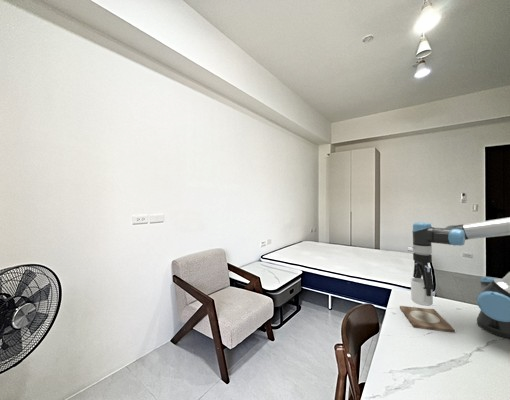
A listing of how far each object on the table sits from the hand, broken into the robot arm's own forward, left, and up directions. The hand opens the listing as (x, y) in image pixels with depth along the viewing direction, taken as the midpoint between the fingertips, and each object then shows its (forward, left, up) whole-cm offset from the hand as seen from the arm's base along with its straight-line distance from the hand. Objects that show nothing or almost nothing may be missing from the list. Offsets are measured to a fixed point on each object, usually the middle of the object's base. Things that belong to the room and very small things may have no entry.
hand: (423, 297), depth 111 cm
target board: (0, 0, -11) cm, 11 cm away
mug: (0, -1, -2) cm, 3 cm away
